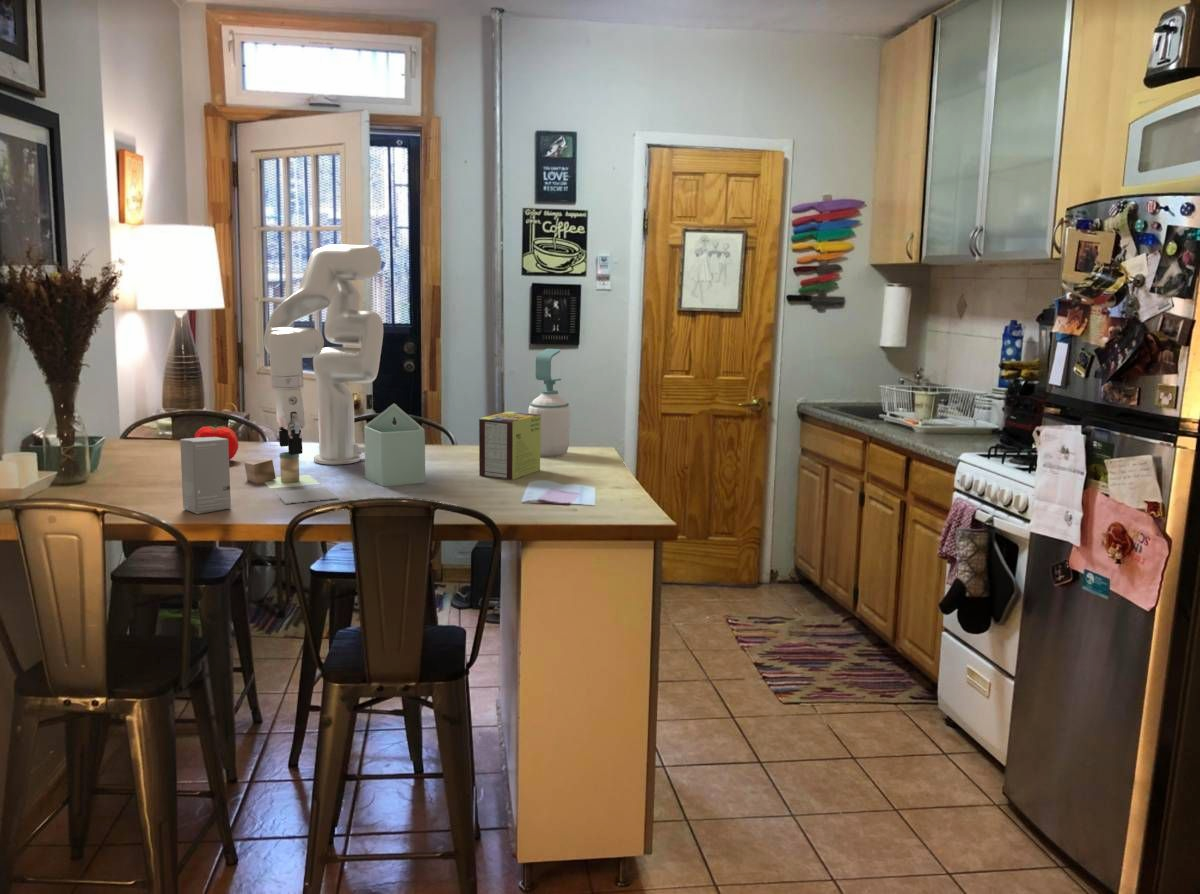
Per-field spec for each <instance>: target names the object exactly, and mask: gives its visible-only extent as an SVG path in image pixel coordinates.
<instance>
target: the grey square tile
mask: <svg viewBox="0 0 1200 894" xmlns="http://www.w3.org/2000/svg"><path fill="white" fill-rule="evenodd" d="M274 494H275V495H276V496H277V497H278V498H280V499H281V500H282V501H283V502H284V503H285V504H286V505H292V504H291V503H296V504H303V503H302V502H306V503H309V502H308V501H316V502H321V501H320V500H327V501H330V500H329V499H337V500H339V497H338V496H337V495H335V494H334V493H333V492H332V491H330V490H329V489H328V488H326V486H325V487H323V486H322V487H314V488H302V489H293V490H292V489H291V490H290V489H289V490H278V491H274ZM280 499H279V500H280ZM281 500H280V501H281ZM282 501H281V502H282ZM283 502H282V503H283ZM284 503H283V504H284ZM285 504H284V505H285Z"/></svg>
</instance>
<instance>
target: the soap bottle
mask: <svg viewBox="0 0 1200 894" xmlns="http://www.w3.org/2000/svg"><path fill="white" fill-rule="evenodd" d="M559 353H561V349H559V348H546V349H543V350H541V352H539V353H537V355H536V356H535V379H536V380H537V381H543V385H545V389H542V390H540V395H538V396H537V397H536V398H534V399H533V400H532V401H531V402H530V403H529V406H528V412H527V413H530V414H541V441H540V456H541V457H540V458H542V457H544V458H556V457H557V456H558V457H563V455H565V454H566V453H567V451H568V450H569V446H570V424H571V421H570V420H571V418H570V417H571V408H570V406H569V405H570V403H569V402H567V401H566V400H565V399H564V398H562V397H561V396H560V395H559V391H558V390H555V389H554V385H556V382H559V381H561V380H562V378H561V377H552V376H551V375H552V359H553V357H555V356H556V355H558V354H559ZM558 457H557V458H558Z"/></svg>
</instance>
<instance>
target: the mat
mask: <svg viewBox="0 0 1200 894" xmlns="http://www.w3.org/2000/svg"><path fill="white" fill-rule="evenodd" d="M275 477H276V476H275ZM263 483H264V484H265V485H266V486H267V487H268V488H269V489H282V488H292V487H293V488H295V487H302V486H304V487H305V486H306V487H307V486H314V485H315V486H317V485H321V483H320V482H319V481H317V480H316V479H315V478H314V477H312V476H311V475H309V474H299V482H296V483H282V482H281V476H278V477H276V479H274V480H271V481H267V482H263Z"/></svg>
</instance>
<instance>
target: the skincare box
mask: <svg viewBox="0 0 1200 894" xmlns="http://www.w3.org/2000/svg"><path fill="white" fill-rule="evenodd" d="M179 443H180V445H179V446H180V463H181V465H180V467H181V486H182V487H181V489H182V508H183V510H185V511H188V512H190V513H191V512H192V513H194V514H196V515H201V514H207V513H211V512H217V511H223V510H228V509H229V510H230V509H231V508H232V507H231V505H232V504H231V475H230V460H229V446H228V439H225V438H219V437H204V438H202V437H200V438H194V437H190V438H181V439H179Z"/></svg>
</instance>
